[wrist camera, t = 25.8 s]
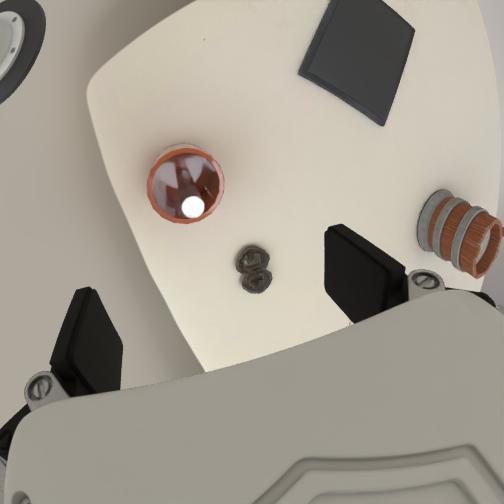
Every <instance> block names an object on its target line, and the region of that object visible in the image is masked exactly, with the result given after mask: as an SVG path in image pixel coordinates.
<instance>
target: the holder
mask: <svg viewBox="0 0 504 504" xmlns="http://www.w3.org/2000/svg"><path fill="white" fill-rule="evenodd" d="M182 170H187V171H189V172H190V174H191V176H192V178H193V180H194V182H195V184H196V186H197V189H198V191H199V193H200V195H201V197H202V199H203V201H204V204H205V209H204V212H203V213H202V215H200V216H199V217H197V218H188V217H186V216H185V215H184V214H183V213H182V210H181V204H180V198H179V192H178V185H177V179H176V177H177V174H178V173H179V172H180V171H182ZM223 193H224V176H223V174H222V171H221V168H220V166H219V164H218V163H217V162H216V161H215V160H214V159H213V157H212V156H211V155H209V154H208V153H206V152H205V151H203V150H202V149H200V148H198V147H196V146H194V145H191V144H184V143H181V144H176V145H172V146H170V147H168V148H166V149H165V150H164V151H162V152H161V153H160V154H159V156H158V157H157V158H156V160H155V161H154V164H153V166H152V168H151V171H150V174H149V177H148V181H147V194H148V198H149V200H150V202H151V205H152V207H153V209H154V210H155V211H156V212H157V213H158V214H159V215H160V216H161V217H163V218H165V219H167V220H169V221H171V222H173V223H182V224H189V223H193V222H197V221H200V220H202V219H203V218H205V217H207V216H208V215H210V214H211V213H212V212H213V211H214V210H215V208H216V207H217V206H218V205H219V203H220V201H221V198H222V195H223Z"/></svg>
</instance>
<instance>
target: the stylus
mask: <svg viewBox="0 0 504 504" xmlns="http://www.w3.org/2000/svg"><path fill="white" fill-rule="evenodd" d="M176 179H177V185H178V192H179V198H180V204H181V210H182V213H183V214H184V215H185V216H186V217H188V218H197V217H199V216H200V215H202V213H203V212H204V209H205V204H204V201H203V199H202V197H201V195H200V193H199V191H198V189H197V186H196V184H195V182H194V180H193V178H192V176H191V174H190V172H189V171H187V170H182V171H180V172H179V173H178V174H177V177H176Z"/></svg>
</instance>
